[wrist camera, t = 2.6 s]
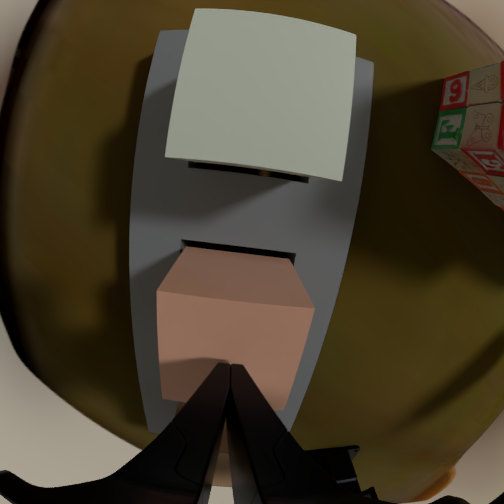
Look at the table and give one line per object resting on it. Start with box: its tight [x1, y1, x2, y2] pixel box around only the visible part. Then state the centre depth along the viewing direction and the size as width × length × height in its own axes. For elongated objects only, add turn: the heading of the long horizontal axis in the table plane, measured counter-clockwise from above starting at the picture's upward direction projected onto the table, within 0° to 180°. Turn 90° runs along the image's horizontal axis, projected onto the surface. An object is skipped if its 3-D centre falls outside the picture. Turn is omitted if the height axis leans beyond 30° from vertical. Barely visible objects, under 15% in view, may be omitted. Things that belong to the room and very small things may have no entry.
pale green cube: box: [165, 9, 356, 181], centre depth 9 cm, size 5×5×5 cm
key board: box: [129, 30, 374, 434], centre depth 15 cm, size 27×11×2 cm, turn 172°
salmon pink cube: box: [157, 246, 315, 410], centre depth 11 cm, size 5×5×5 cm
